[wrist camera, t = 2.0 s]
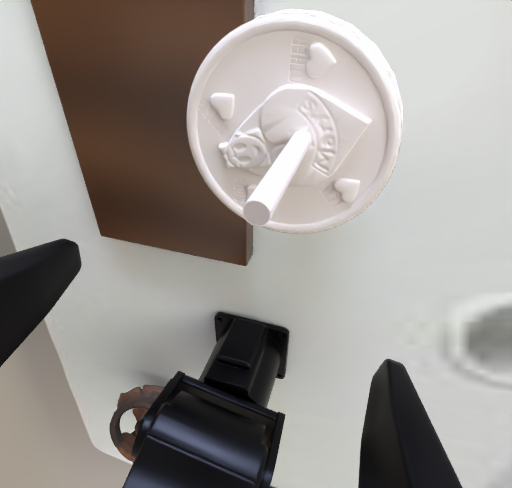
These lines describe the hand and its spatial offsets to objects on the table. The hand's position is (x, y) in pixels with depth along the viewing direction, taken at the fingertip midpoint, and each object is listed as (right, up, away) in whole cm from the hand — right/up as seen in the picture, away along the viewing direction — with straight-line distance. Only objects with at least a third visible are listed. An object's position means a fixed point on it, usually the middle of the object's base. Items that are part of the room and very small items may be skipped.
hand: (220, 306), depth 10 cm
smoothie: (+5, +10, +8) cm, 14 cm away
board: (-5, +10, +12) cm, 16 cm away
